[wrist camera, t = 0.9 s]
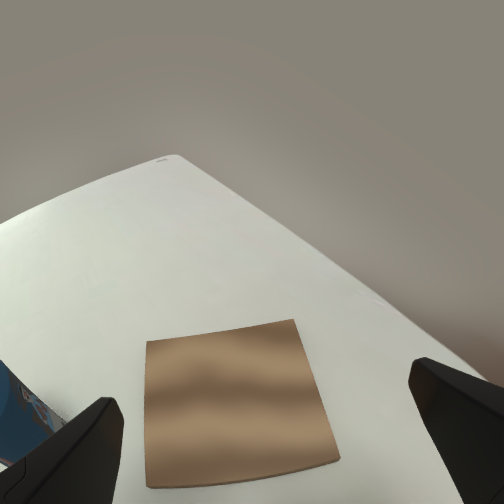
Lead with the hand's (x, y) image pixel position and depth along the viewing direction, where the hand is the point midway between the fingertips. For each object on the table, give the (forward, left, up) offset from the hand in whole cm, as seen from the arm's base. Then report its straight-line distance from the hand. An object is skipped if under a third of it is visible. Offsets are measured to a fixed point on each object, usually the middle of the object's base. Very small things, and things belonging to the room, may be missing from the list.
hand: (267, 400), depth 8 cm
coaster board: (+5, +6, -16) cm, 17 cm away
